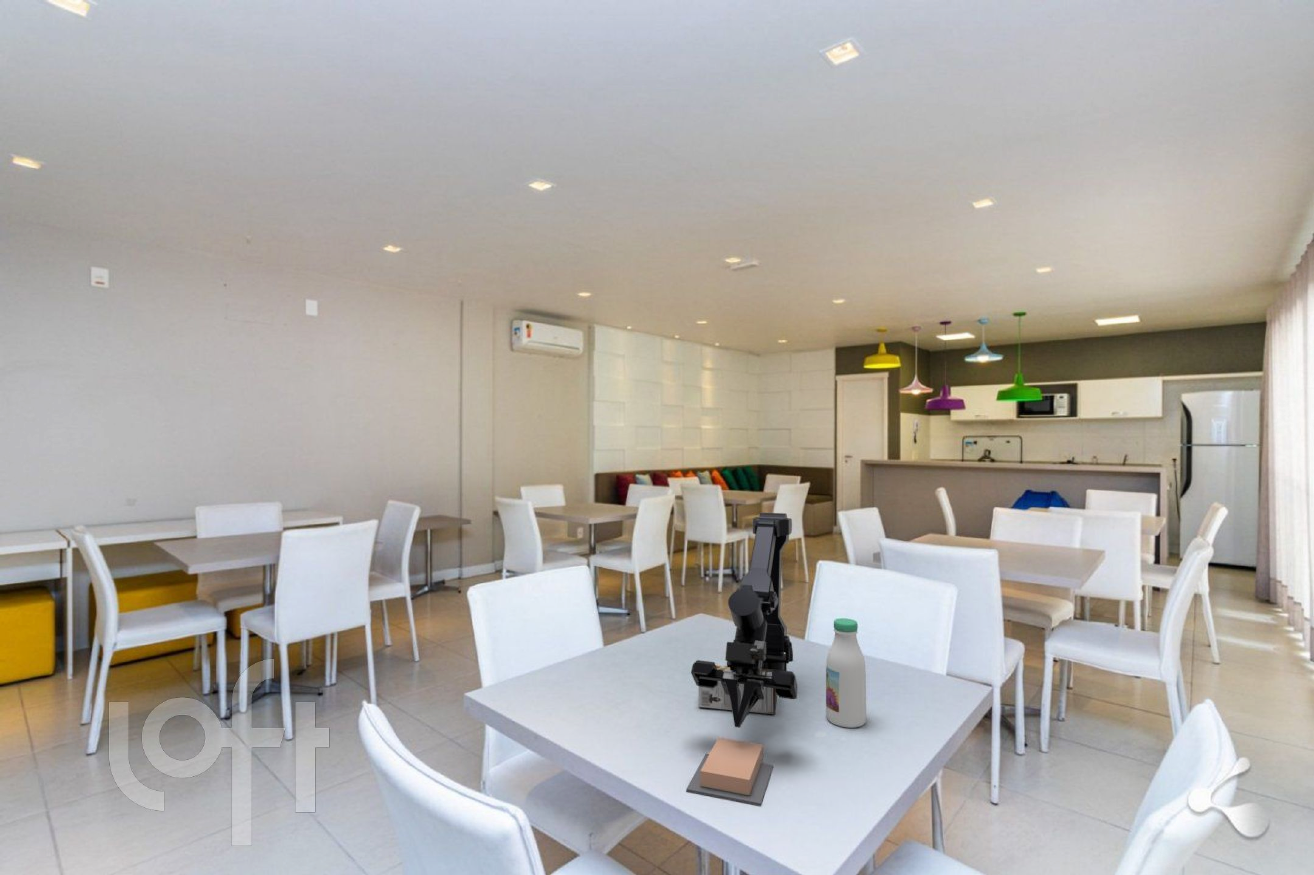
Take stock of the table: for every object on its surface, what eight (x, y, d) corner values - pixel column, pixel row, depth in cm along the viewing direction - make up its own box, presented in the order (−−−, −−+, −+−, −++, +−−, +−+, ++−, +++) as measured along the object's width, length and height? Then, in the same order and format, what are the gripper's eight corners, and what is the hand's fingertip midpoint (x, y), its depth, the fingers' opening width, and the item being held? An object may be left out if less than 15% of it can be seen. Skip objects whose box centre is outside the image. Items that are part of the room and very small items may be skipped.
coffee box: (704, 662, 140) (777, 668, 136) (704, 691, 140) (777, 697, 136) (698, 678, 131) (776, 684, 127) (698, 708, 131) (776, 715, 127)
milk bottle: (866, 714, 128) (865, 617, 128) (866, 731, 120) (865, 628, 120) (827, 709, 130) (827, 613, 130) (824, 725, 123) (824, 624, 123)
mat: (705, 755, 111) (705, 753, 111) (773, 767, 107) (773, 764, 107) (686, 791, 100) (686, 788, 100) (760, 805, 96) (760, 803, 96)
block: (718, 737, 112) (700, 770, 100) (762, 744, 109) (749, 779, 98) (718, 751, 112) (700, 786, 100) (762, 759, 109) (749, 796, 98)
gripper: (693, 616, 116) (675, 699, 106) (795, 626, 110) (786, 715, 99) (704, 646, 124) (689, 725, 113) (800, 656, 117) (793, 742, 107)
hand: (737, 726), depth 108 cm, fingers closed
